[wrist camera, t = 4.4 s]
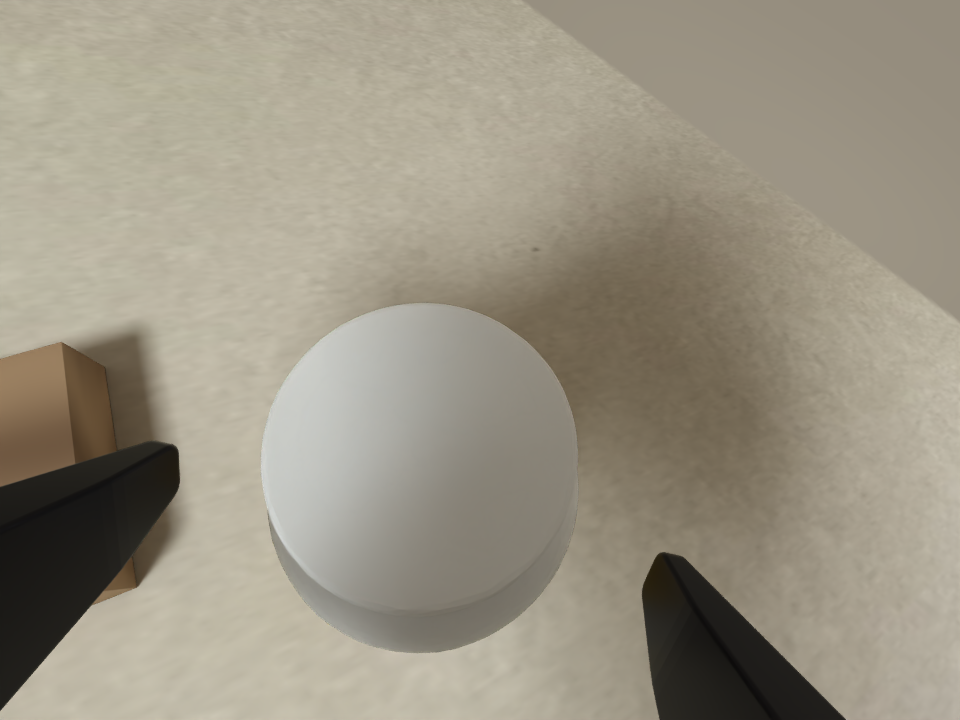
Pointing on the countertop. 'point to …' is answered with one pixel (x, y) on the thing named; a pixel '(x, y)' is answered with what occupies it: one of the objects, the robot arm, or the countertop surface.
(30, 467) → the walnut block
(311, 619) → the countertop surface
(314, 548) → the supplement bottle
